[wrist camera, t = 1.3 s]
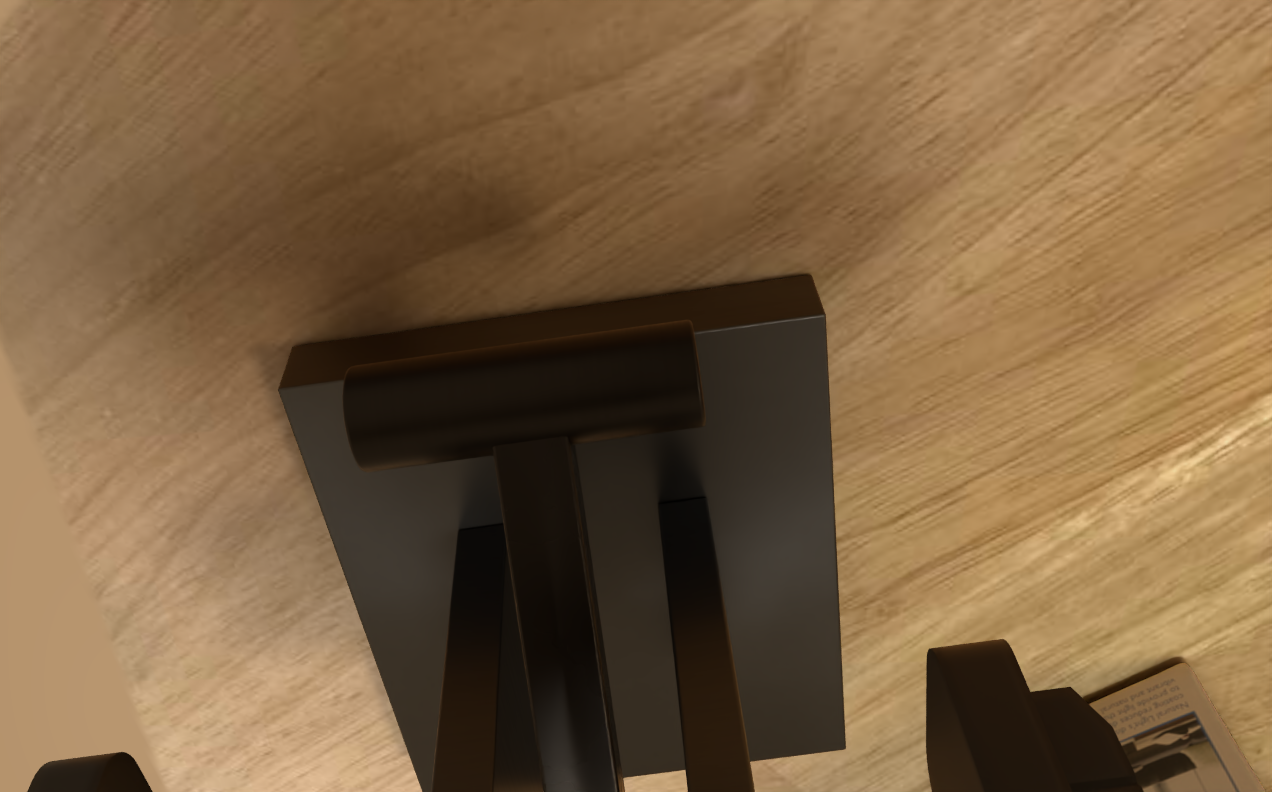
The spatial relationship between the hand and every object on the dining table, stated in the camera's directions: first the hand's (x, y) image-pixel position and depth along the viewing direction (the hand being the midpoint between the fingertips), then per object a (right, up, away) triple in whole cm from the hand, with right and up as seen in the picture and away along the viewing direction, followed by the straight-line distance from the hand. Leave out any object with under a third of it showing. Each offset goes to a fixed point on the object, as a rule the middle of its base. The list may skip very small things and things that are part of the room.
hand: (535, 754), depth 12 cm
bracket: (0, 0, +14) cm, 14 cm away
